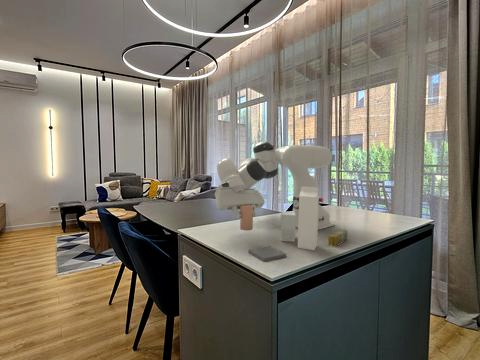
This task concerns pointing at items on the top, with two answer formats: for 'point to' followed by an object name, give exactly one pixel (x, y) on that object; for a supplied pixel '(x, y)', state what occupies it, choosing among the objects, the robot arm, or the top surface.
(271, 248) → the coaster
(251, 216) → the tan round cylinder
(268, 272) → the top surface
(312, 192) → the milk
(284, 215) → the small box
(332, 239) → the medication box
